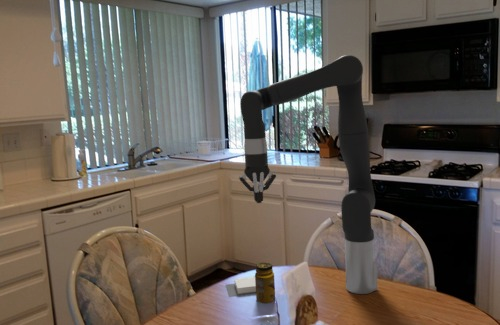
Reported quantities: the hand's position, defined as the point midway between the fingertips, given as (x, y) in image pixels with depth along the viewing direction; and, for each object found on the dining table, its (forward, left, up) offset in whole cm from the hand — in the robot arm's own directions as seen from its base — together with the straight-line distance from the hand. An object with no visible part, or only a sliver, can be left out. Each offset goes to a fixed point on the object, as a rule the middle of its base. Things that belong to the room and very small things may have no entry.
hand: (258, 202), depth 156 cm
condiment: (+3, +13, -29) cm, 32 cm away
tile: (+10, +3, -27) cm, 29 cm away
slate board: (+7, +3, -29) cm, 30 cm away
